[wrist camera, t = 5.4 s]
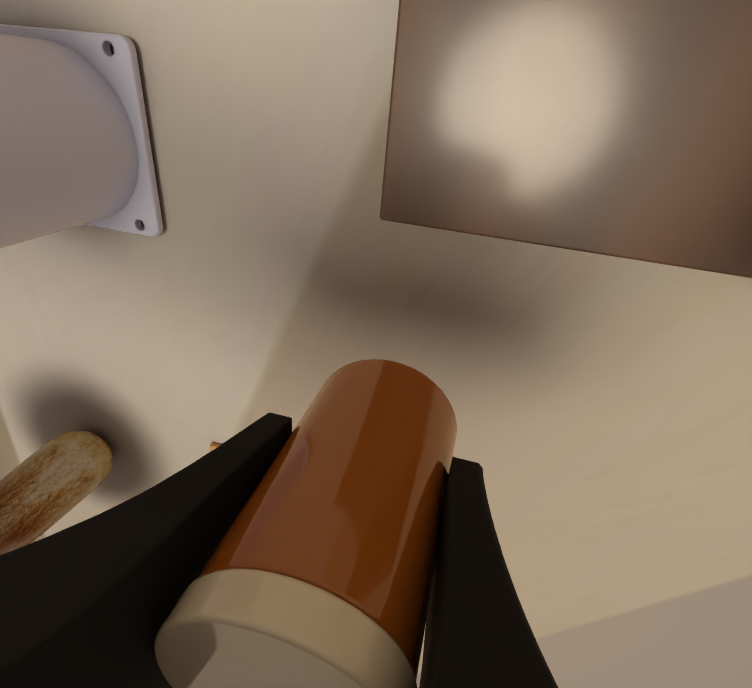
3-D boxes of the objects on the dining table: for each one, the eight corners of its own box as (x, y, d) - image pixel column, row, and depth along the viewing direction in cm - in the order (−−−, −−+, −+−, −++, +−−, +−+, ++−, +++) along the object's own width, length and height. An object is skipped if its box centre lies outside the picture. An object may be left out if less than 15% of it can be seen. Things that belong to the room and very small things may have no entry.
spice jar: (316, 456, 14) (172, 719, 8) (318, 342, 12) (126, 584, 6) (446, 489, 13) (393, 807, 7) (471, 374, 11) (427, 686, 5)
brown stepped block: (394, 205, 18) (337, 258, 12) (441, -242, 12) (374, -563, 6) (782, 264, 16) (947, 365, 10) (1084, -266, 10) (1999, -847, 4)
